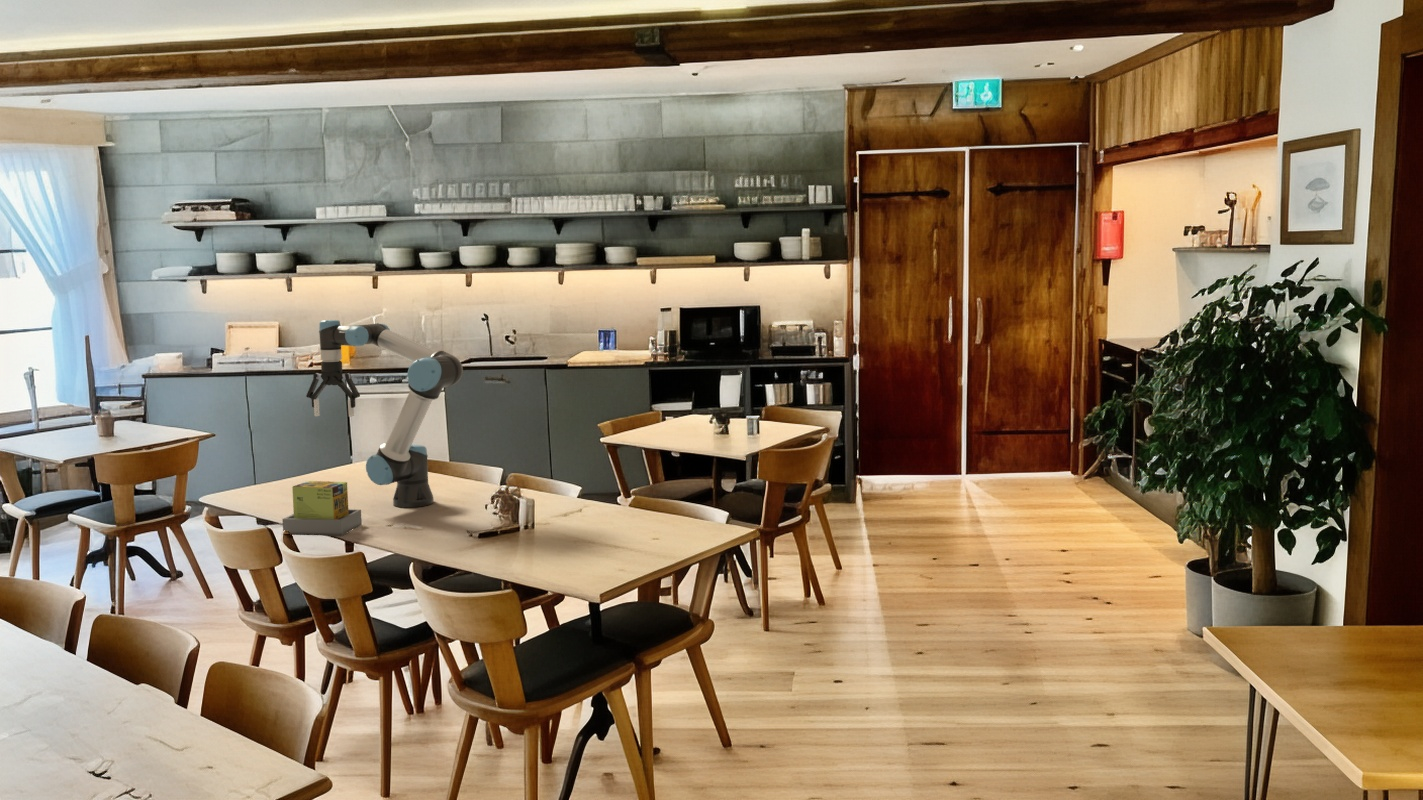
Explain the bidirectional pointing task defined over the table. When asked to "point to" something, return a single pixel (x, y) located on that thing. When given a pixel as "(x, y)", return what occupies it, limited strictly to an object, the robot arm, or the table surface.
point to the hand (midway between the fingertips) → (334, 416)
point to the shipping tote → (323, 525)
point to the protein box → (320, 500)
